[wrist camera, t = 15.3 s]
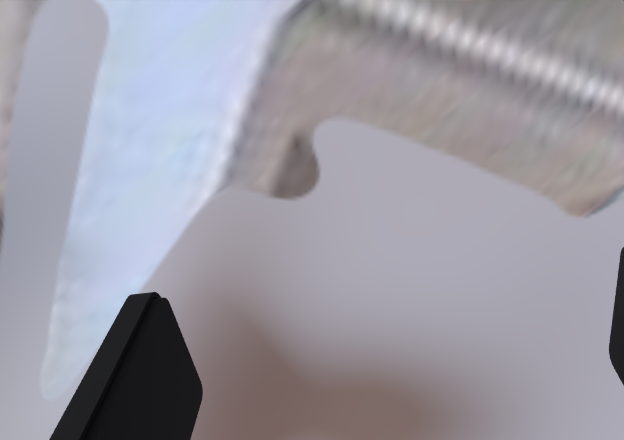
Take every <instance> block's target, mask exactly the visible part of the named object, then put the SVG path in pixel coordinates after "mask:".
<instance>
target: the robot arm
mask: <svg viewBox="0 0 624 440" xmlns="http://www.w3.org/2000/svg"><path fill="white" fill-rule="evenodd" d="M609 354H610V359H611V362H612V365H613V367H614V369H615V371H616V372H617V374H618V376H619V378H620V380H621V381H622V383H623V385H624V247H623V248H622V250H621V255H620V263H619V271H618V280H617V287H616V296H615V303H614V311H613V320H612V328H611V335H610V343H609ZM202 394H203V391H202V384H201V381H200V379H199V376H198V373H197V371H196V368H195V366H194V364H193V361H192V358H191V356H190V353H189V351H188V348H187V346H186V343H185V341H184V338H183V336H182V333H181V331H180V328H179V326H178V323H177V321H176V318H175V316H174V313H173V311H172V308H171V306H170V303H169V301H168V300H167V299H166V298H161V297H160V295H159V294H158V293H156V292H151V293H142V294H133V295H130V296H128V298H127V299H126V301H125V303H124V304H123V306H122V308H121V310H120V312H119V314H118V315H117V317H116V319H115V321H114V323H113V325H112V326H111V328H110V330H109V332H108V334H107V335H106V337H105V339H104V341H103V343H102V345H101V346H100V348H99V350H98V352H97V354H96V355H95V357H94V359H93V361H92V363H91V365H90V366H89V368H88V370H87V372H86V374H85V376H84V377H83V379H82V381H81V383H80V385H79V386H78V389H77V390H76V392H75V394H74V396H73V397H72V399H71V401H70V403H69V405H68V407H67V408H66V410H65V412H64V414H63V416H62V418H61V419H60V421H59V423H58V425H57V427H56V428H55V430H54V433H53V434H52V436H51V438H50V440H190V439H191V435H192V432H193V429H194V425H195V421H196V418H197V414H198V411H199V408H200V404H201V401H202Z"/></svg>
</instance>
